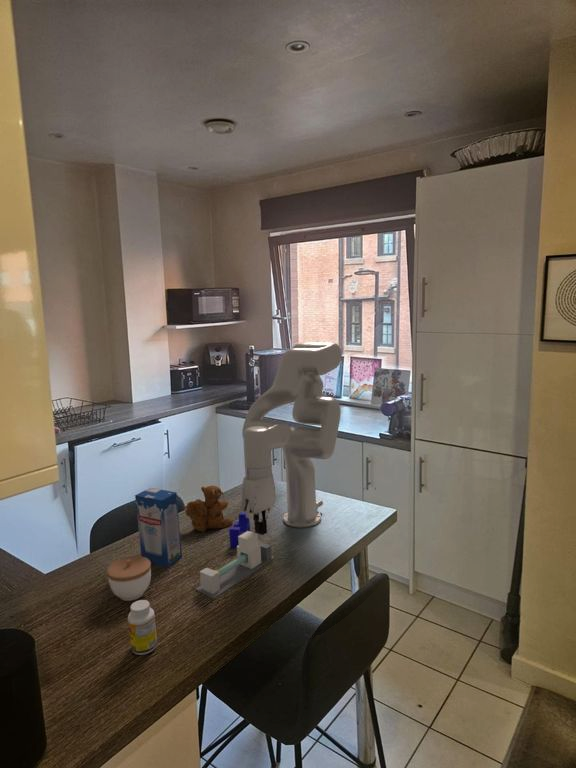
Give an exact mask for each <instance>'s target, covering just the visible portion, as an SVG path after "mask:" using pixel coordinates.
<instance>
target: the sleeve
mask: <svg viewBox="0 0 576 768" xmlns="http://www.w3.org/2000/svg"><path fill="white" fill-rule="evenodd" d="M258 535H259V534H258V533H255V532H252V531H251V530H250V531H247V532H245V533H243V534H242V535H240V536H238V542H239V545H238V546H237V548H236V558H238V557H240V556H241V555H243V554H248V560H246V561H244V562H243V563H241V564H240V565H243V566H245V567H248V568H250V569H253V568H254V567H256V566H257V565H259V564H260V563H261V548H260V545H258V541H259V538H258V537H259V536H258Z"/></svg>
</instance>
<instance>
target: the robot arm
mask: <svg viewBox="0 0 576 768" xmlns="http://www.w3.org/2000/svg"><path fill="white" fill-rule="evenodd" d="M342 352H343V351H342V349H341V347H340V345H339V344H338V343H335V342H317V341H316V342H310V341H309V342H307V341H306V342H300V343H296V344H295V345H293V347H292V348H289V349H288V350H286V351H284V352H283V355H282V357H281V361H280V363H279V365H278V368H277V372H276V374H275V378H274V380H273V382H272V386H271V387H270V388H269V389H268V390H266V391H265V392H264V393H263V394H261V395H260V396H259V397H258V398H257V399H256V400H255V401H254V402H253V403H252V404H251V406H250V407H249V410H248V412H247V414H246V416H245V419H244V422H243V426H242V432H241V434H242V439H243V454H244V457H243V458H244V459H243V460H244V461H243V462H244V477H243V479H242V484H241V496H240V497H241V500H240V501H241V503H240V504H241V511H242V512H243V513H246V518H247V519H249V520H253V521H254V533H256V534H258V535H260V536H264V535H266V534H267V533H268V525H267V522H268V518H269V513H270V511H271V510H272V509H273V508H274V507H275V506H274V505H275V504H276V499H277V498H276V495H277V494H276V486H275V485H276V484H275V479H274V475H273V468H272V467H273V464H272V450H277V449H280V448H281V449H282V453H283V458H284V464H285V465H284V466H285V483H286V484H285V486H286V503H287V507H286V508H287V512H285V513H284V515H283V518H282V521H283V522H284V524H285V525H288V526H289V527H293V528H309V527H313V526H315V525H317V524H319V523H321V521H322V515H321V513H320V511H318V509H319V507H322V506H323V505H324V501H323V500H321V499H319V500H317V497H316V495H317V494H316V471H315V470H316V469H315V466H314V463H313V461H312V459H316V460H317V459H318V460H328V459H330V458H332V456H333V454H334V451H335V448H336V443H337V439H338V437H337V436H338V433H339V427H340V421H341V414H342V410H341V405H340V403H339V401H338V400H337V399H336V398H334V397H331V396H323V391H324V381H323V379H322V377H321V376H325V375H327V374H328V373H330V372H332V371H334V370H335V369H337V368H338V367H339V365H340V364H341V362H342V358H343V353H342ZM292 402H293V407H292V414H291V416H292V419H293V421H294V422H296V423H297V424H299V425H308V426H319V427H320V428H316V427H315V428H314V427H307V426H305V427H304V426H289V425H288V423H285V422H282V421H274V420H266V419H265V420H264V418H265V416H267V414H268V413H269V412H271V411H273V410H275V409H276V408H280V407H282V406H284V405H287V404H290V403H292Z"/></svg>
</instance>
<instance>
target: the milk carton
mask: <svg viewBox="0 0 576 768" xmlns="http://www.w3.org/2000/svg"><path fill="white" fill-rule="evenodd" d="M134 499H135V507H136V516H137V518H136V519H137V525H138V528H137V529H138V535H139V536H138V537H139V546H140V547H139V548H140V556H142V557H146V558H147V559H149V560H150V562H151V564H153V565H158V566H162V567H165V568H169V567H170V566H172V565H174V564H175V563H176V562H178V561H179V560H180V559H181V558H183V550H182V540H181V528H180V519H179V517H180V516H179V515H180V514H179V506H178V505H179V504H178V493H177V491H171V490H166V489H160V488H154V487H149V488H147V489H145V490H143V491H141V492H139V493H137V494H135V495H134Z"/></svg>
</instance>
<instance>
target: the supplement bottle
mask: <svg viewBox="0 0 576 768" xmlns="http://www.w3.org/2000/svg"><path fill="white" fill-rule="evenodd" d="M129 608H130V612H129V614H128V615H127V625H128V633H129V640H130V643H129V644H130V650H131V651H132V653H134V654H135V655H138V656H143V655H147V654H149V653H151V652H153V651H154V650H155V649H156V647H157V646H158V636H157V635H158V634H157V629H156V628H157V625H156V617H155V611H154V609H153V608H152V607H151V606H150V601H148V600H146V599H139V600H136V601H134V602H132V603H131V604H130V607H129Z"/></svg>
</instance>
